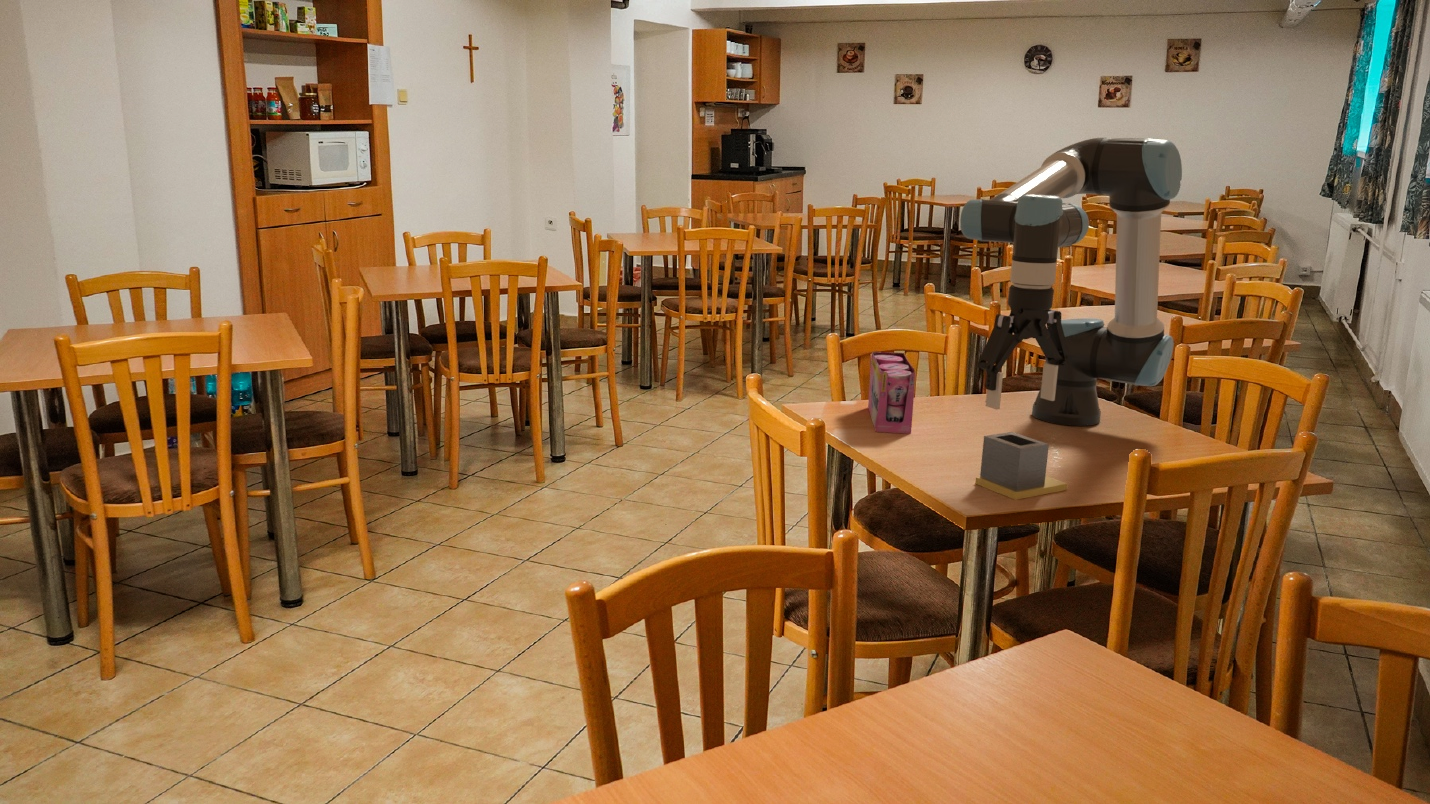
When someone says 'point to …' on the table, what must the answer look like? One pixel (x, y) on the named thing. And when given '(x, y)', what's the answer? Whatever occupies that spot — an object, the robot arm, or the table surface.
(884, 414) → the gum box
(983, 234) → the robot arm
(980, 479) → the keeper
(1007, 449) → the grey open box
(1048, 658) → the table surface
